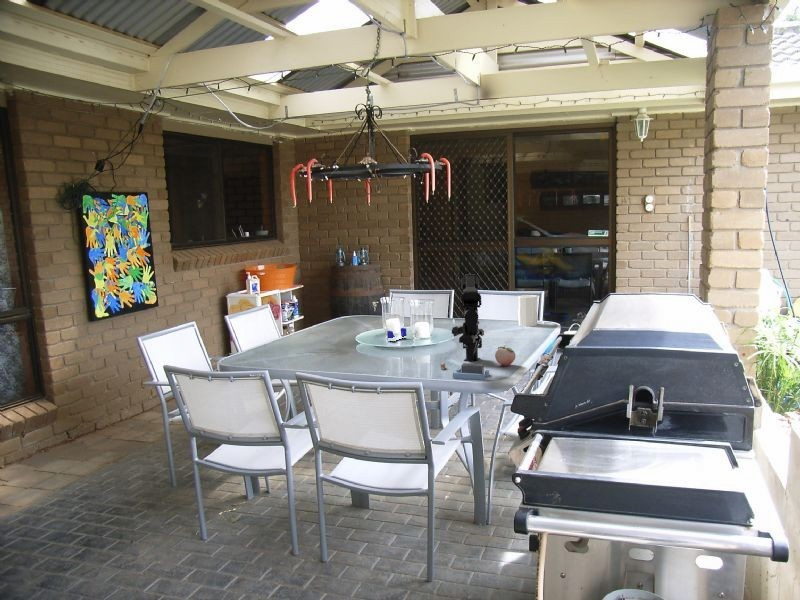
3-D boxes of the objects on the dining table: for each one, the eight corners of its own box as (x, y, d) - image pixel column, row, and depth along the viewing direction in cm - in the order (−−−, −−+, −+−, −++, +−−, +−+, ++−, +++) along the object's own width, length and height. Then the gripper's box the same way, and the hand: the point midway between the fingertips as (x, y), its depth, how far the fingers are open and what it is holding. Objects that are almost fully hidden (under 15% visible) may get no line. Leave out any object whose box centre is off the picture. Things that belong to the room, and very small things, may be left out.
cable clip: (401, 337, 361) (400, 327, 360) (406, 338, 358) (406, 328, 357) (385, 341, 353) (385, 330, 352) (391, 342, 350) (390, 331, 349)
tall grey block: (463, 374, 274) (463, 363, 273) (484, 375, 271) (483, 364, 270) (461, 376, 270) (461, 365, 269) (482, 377, 267) (481, 366, 266)
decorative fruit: (491, 367, 283) (490, 345, 282) (501, 363, 289) (500, 342, 288) (509, 370, 277) (508, 348, 275) (518, 366, 283) (518, 344, 281)
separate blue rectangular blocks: (458, 373, 274) (458, 368, 274) (489, 375, 269) (489, 369, 268) (452, 378, 266) (452, 372, 266) (484, 380, 261) (484, 374, 261)
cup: (538, 324, 383) (538, 295, 380) (535, 328, 372) (535, 297, 370) (520, 324, 387) (519, 294, 384) (517, 327, 376) (516, 297, 374)
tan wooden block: (442, 368, 285) (442, 362, 285) (471, 369, 280) (471, 364, 280) (440, 369, 282) (440, 364, 282) (470, 371, 277) (469, 365, 277)
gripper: (459, 315, 278) (460, 349, 280) (446, 323, 261) (447, 359, 263) (483, 316, 274) (484, 351, 276) (472, 323, 257) (473, 360, 259)
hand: (472, 355), depth 269 cm, fingers closed
